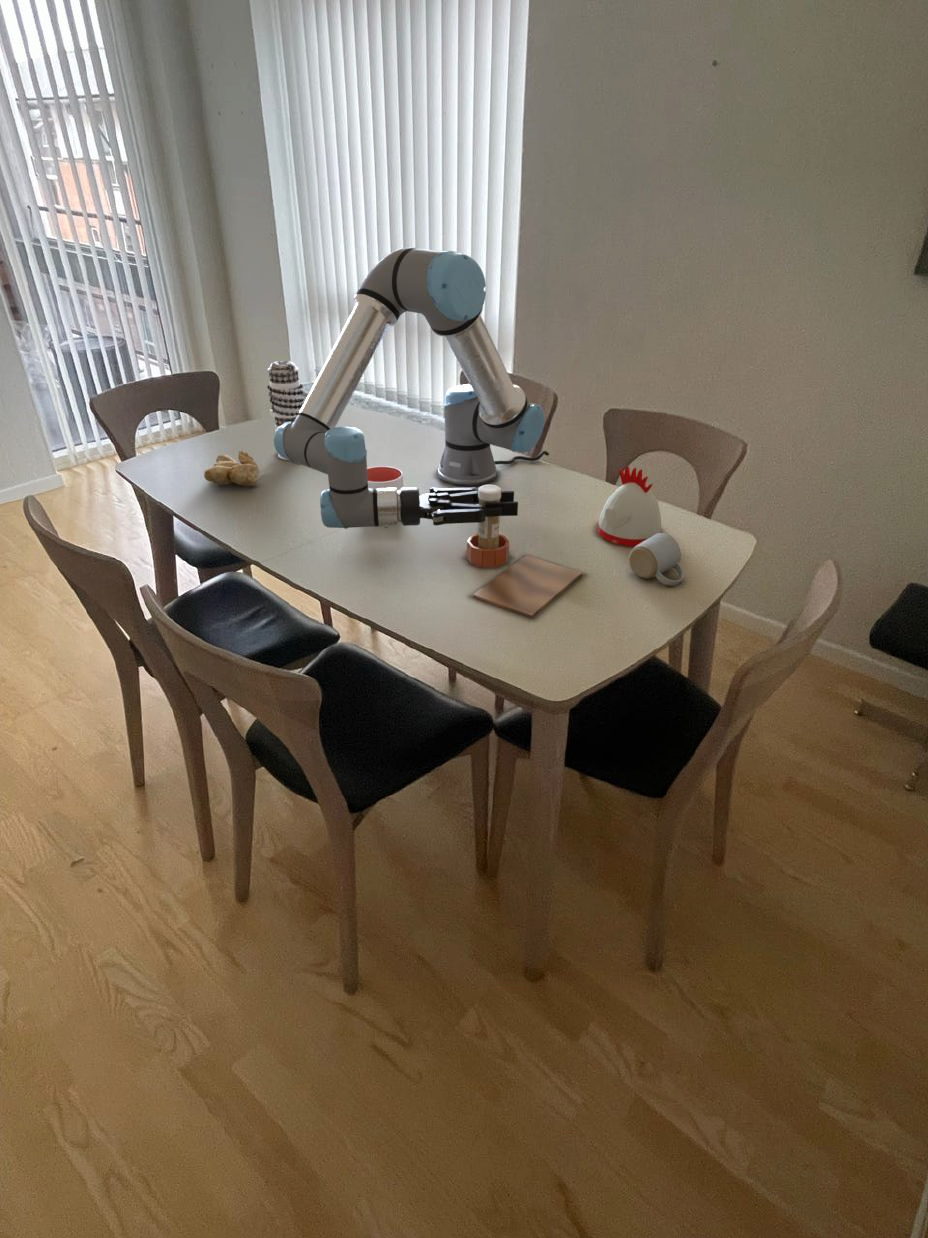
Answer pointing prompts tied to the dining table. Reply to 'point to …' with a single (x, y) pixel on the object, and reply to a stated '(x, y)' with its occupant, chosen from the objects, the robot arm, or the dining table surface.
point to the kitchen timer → (630, 512)
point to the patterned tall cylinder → (284, 392)
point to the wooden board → (528, 586)
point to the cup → (384, 478)
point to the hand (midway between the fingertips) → (515, 503)
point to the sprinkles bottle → (489, 518)
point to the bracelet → (487, 553)
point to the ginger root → (233, 470)
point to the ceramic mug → (657, 558)
